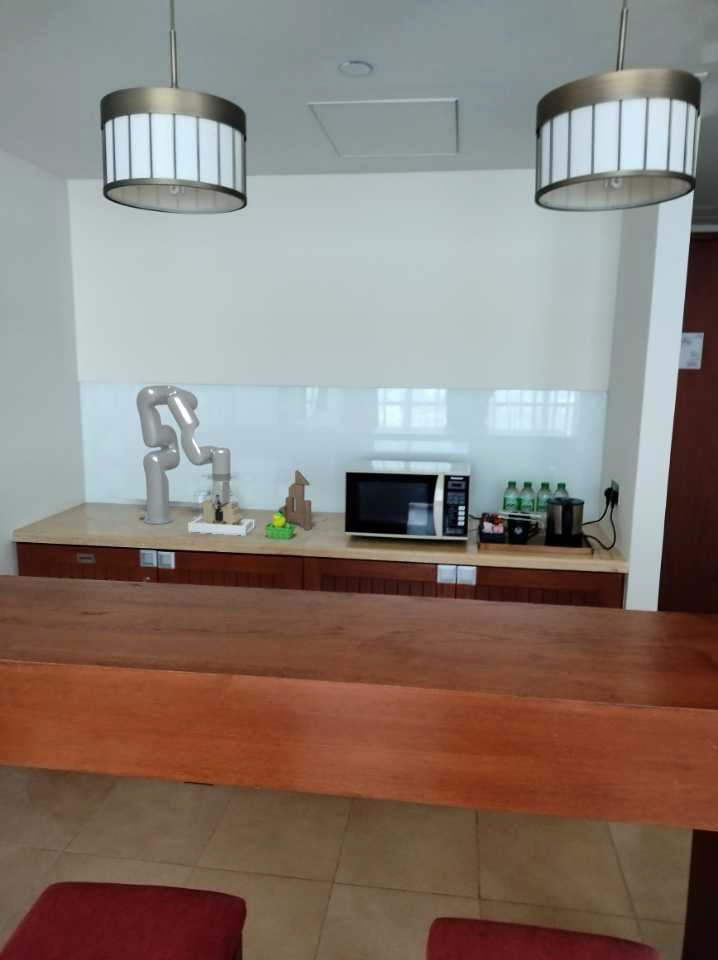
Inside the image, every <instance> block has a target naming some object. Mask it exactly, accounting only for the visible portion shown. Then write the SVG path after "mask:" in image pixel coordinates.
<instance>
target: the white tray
mask: <svg viewBox="0 0 718 960" xmlns="http://www.w3.org/2000/svg"><path fill="white" fill-rule="evenodd" d="M187 526H188V529H187V530H188V533H190V532H200V533H199V534H206V533H212V534H211V535H221V534H224V536H237V535H241V536H240V537H246V536H247V534H248V535H249V534H251V532H252V530H253V531H254V530H255V529H256V519H252V518H251V519H250V518H243V520H241V521H239V523H238V524H236V525H226V523H225V524H216V523H214V524H209V523H206V522H205V519H204V518H203V516H202V515H200V516H198V517H197V518H196V519H194V520H192V521H190V522H188V523H187Z"/></svg>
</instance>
